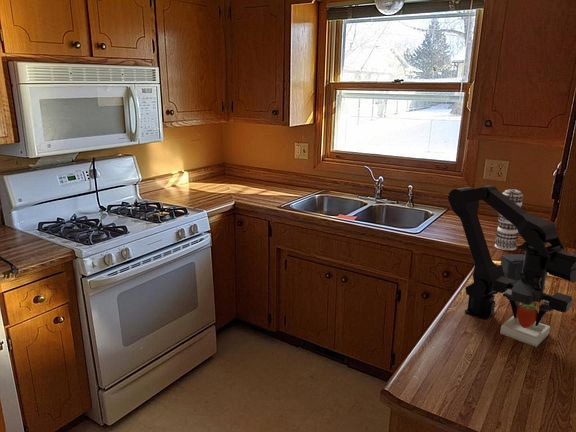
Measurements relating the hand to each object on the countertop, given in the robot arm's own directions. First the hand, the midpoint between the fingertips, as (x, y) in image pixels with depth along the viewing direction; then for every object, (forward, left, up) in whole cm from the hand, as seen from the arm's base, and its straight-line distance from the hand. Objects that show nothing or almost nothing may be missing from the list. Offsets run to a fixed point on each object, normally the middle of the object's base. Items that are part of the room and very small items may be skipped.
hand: (526, 321), depth 124 cm
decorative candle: (-33, +70, -4) cm, 77 cm away
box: (-15, +31, -4) cm, 35 cm away
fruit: (0, 0, -2) cm, 2 cm away
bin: (0, 0, -4) cm, 4 cm away
